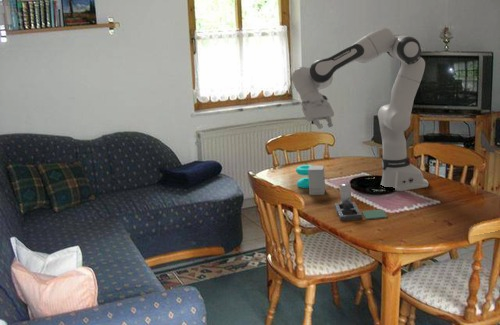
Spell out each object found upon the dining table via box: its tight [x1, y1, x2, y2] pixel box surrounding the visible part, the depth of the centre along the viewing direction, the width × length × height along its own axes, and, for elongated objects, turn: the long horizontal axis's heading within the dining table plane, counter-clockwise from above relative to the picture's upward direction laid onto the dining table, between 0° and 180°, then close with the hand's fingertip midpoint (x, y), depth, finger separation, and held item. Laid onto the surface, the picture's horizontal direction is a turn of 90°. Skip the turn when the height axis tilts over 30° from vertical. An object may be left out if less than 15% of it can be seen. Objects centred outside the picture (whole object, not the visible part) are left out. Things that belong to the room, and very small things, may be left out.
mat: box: [361, 208, 388, 221], centre depth 253 cm, size 9×9×1 cm
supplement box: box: [307, 165, 326, 196], centre depth 288 cm, size 7×7×13 cm
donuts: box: [295, 164, 313, 189], centre depth 300 cm, size 10×10×10 cm
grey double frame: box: [334, 201, 363, 222], centre depth 258 cm, size 9×17×2 cm, turn 0°
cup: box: [339, 182, 352, 209], centre depth 260 cm, size 5×5×12 cm
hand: (326, 127), depth 267 cm, fingers open, 8 cm apart
